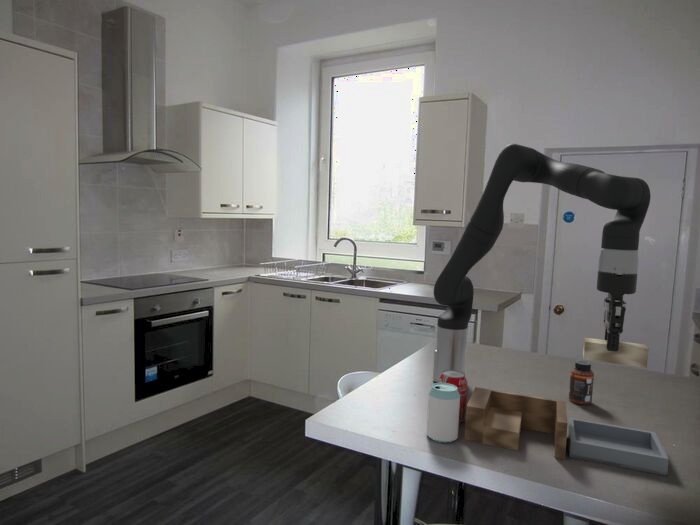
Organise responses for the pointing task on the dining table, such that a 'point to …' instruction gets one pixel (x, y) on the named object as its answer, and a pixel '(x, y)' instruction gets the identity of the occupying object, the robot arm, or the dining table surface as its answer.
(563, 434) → the open wooden box frame
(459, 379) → the soda can
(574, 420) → the tray
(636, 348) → the slab
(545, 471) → the dining table surface
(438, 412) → the can
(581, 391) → the supplement bottle
